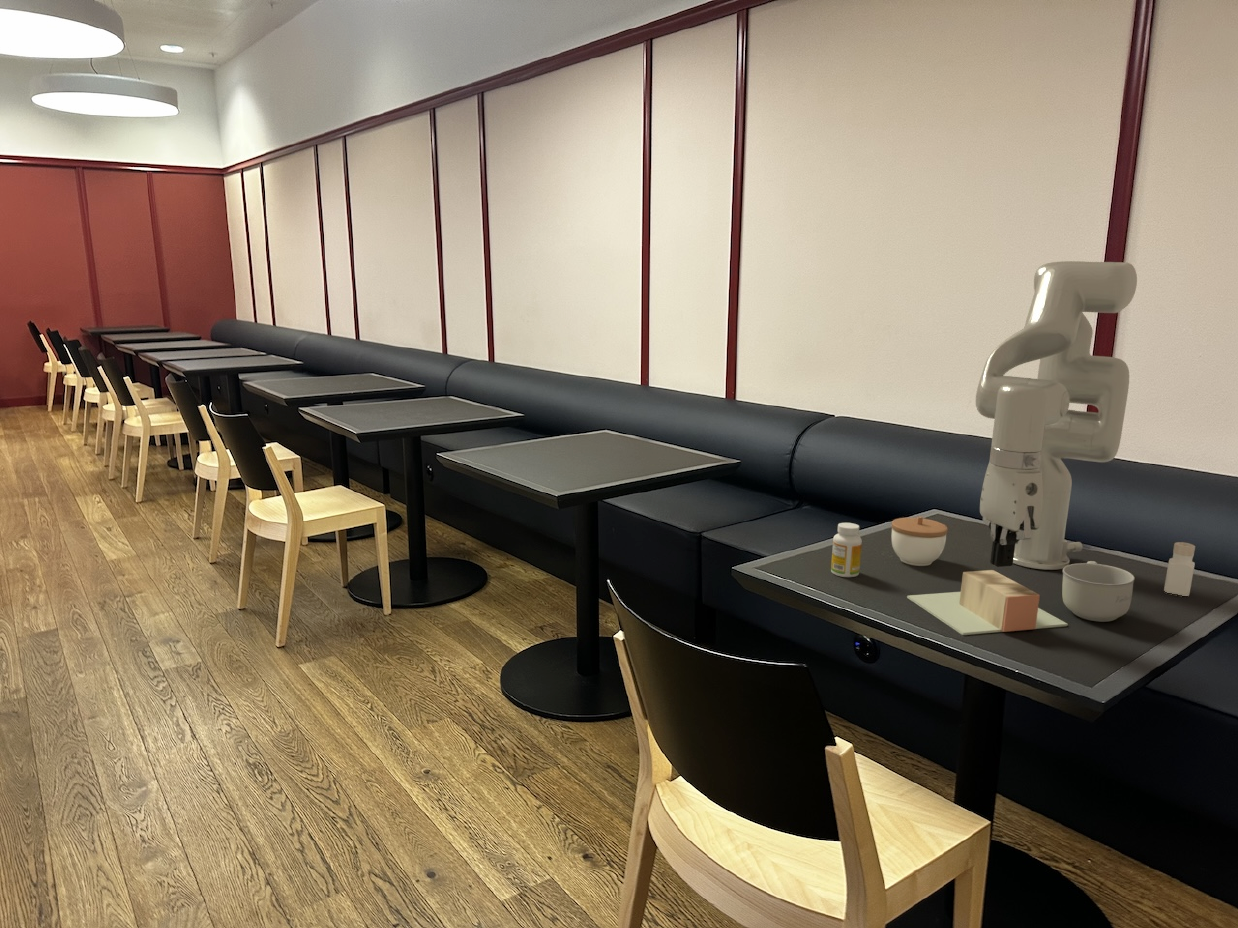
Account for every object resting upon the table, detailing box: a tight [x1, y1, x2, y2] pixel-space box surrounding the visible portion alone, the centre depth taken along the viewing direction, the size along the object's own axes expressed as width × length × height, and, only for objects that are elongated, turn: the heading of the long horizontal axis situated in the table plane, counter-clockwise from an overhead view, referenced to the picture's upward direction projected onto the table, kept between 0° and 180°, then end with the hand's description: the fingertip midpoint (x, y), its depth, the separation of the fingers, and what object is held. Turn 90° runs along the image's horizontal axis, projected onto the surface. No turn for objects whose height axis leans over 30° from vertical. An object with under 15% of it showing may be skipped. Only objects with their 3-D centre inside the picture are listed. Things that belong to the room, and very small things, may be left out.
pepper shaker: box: [1163, 541, 1196, 597], centre depth 160 cm, size 4×4×10 cm
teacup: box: [1061, 560, 1135, 623], centre depth 150 cm, size 14×11×8 cm
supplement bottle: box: [830, 522, 863, 578], centre depth 167 cm, size 5×5×10 cm
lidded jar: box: [890, 515, 949, 567], centre depth 175 cm, size 11×11×9 cm
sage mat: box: [906, 591, 1068, 636], centre depth 150 cm, size 20×16×1 cm
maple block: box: [959, 569, 1041, 633], centre depth 147 cm, size 6×6×12 cm
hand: (1001, 564), depth 146 cm, fingers closed
